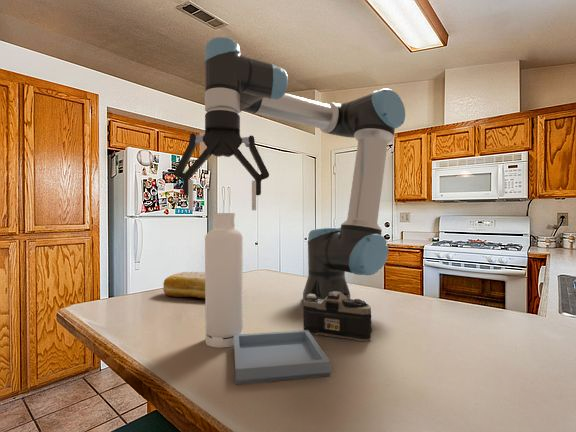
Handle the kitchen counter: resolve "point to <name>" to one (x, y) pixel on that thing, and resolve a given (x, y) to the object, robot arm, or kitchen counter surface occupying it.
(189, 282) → the bread
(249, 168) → the robot arm
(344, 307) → the camera
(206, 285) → the bottle
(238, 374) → the tray
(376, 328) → the kitchen counter surface
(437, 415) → the kitchen counter surface
